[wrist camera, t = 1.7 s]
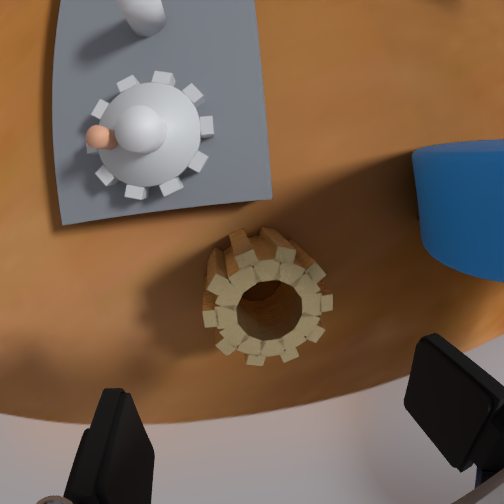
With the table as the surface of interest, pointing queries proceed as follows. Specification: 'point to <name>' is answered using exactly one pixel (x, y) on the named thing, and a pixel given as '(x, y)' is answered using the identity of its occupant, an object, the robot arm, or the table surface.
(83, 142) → the gear board
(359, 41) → the table surface
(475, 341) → the table surface
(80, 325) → the table surface
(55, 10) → the table surface
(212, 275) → the brass gear
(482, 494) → the robot arm
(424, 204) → the alarm clock
